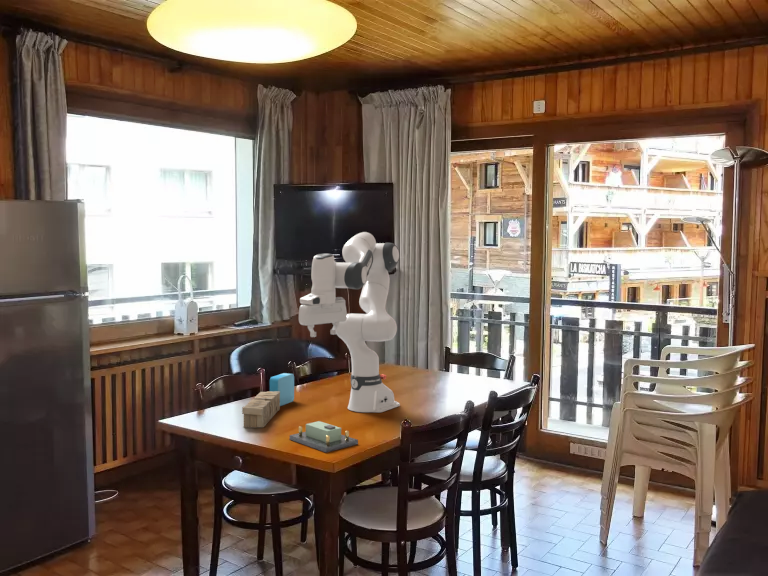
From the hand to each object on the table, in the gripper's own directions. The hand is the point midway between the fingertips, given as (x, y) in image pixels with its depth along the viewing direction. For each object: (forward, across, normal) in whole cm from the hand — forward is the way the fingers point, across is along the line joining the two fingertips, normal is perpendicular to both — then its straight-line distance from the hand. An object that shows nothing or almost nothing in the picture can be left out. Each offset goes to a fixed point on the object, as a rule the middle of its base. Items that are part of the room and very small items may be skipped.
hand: (323, 335), depth 262 cm
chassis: (+34, +12, +15) cm, 39 cm away
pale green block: (+33, +12, +15) cm, 38 cm away
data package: (+34, -10, -40) cm, 54 cm away
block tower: (+35, +10, -26) cm, 44 cm away
